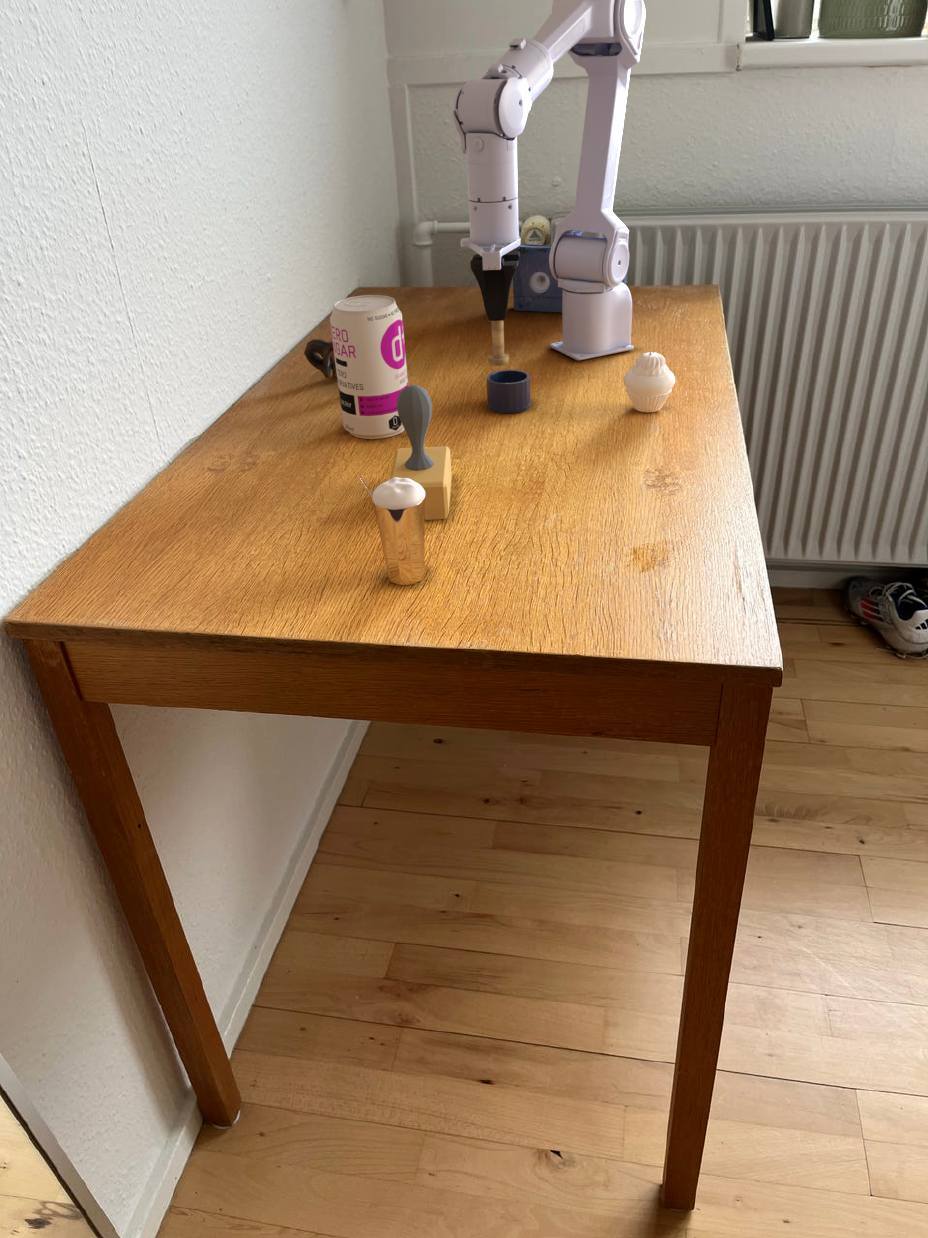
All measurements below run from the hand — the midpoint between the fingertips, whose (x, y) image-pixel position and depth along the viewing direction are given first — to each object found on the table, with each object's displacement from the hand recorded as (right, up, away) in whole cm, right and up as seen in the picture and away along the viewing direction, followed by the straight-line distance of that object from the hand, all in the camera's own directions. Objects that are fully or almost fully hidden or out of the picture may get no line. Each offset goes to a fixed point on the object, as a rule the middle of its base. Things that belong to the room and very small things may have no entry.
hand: (497, 317), depth 117 cm
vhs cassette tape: (+13, +13, +39) cm, 43 cm away
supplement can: (-15, -14, -1) cm, 20 cm away
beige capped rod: (0, -5, +3) cm, 6 cm away
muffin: (+19, -11, 0) cm, 22 cm away
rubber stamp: (-8, -25, -18) cm, 32 cm away
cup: (+2, -10, +3) cm, 11 cm away
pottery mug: (-19, -5, +14) cm, 25 cm away
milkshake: (-10, -33, -31) cm, 47 cm away
